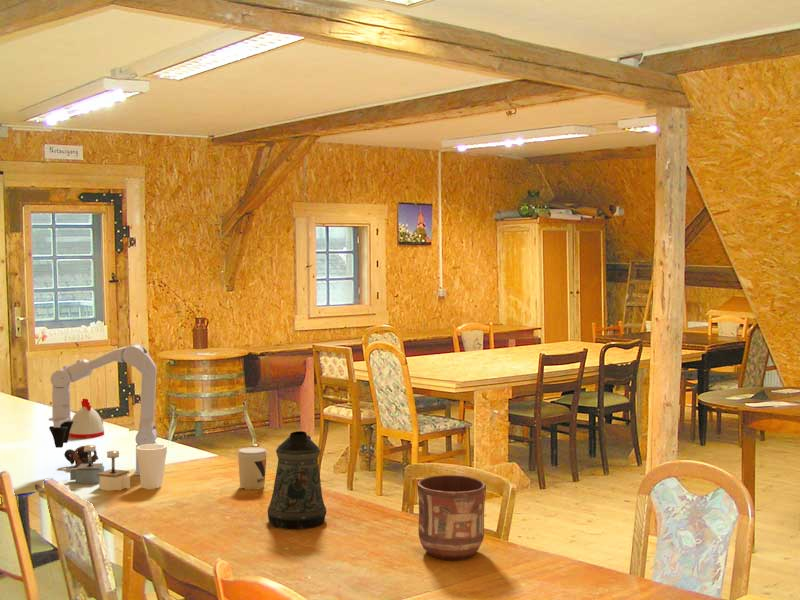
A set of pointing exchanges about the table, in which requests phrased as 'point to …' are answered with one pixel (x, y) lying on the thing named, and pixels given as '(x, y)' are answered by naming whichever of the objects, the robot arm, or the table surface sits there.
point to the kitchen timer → (86, 422)
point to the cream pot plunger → (113, 458)
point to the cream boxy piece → (114, 480)
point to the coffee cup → (252, 467)
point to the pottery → (451, 515)
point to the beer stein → (297, 485)
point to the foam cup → (151, 464)
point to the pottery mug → (79, 456)
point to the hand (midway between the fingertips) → (61, 445)
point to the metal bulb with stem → (89, 452)
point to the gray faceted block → (86, 473)
